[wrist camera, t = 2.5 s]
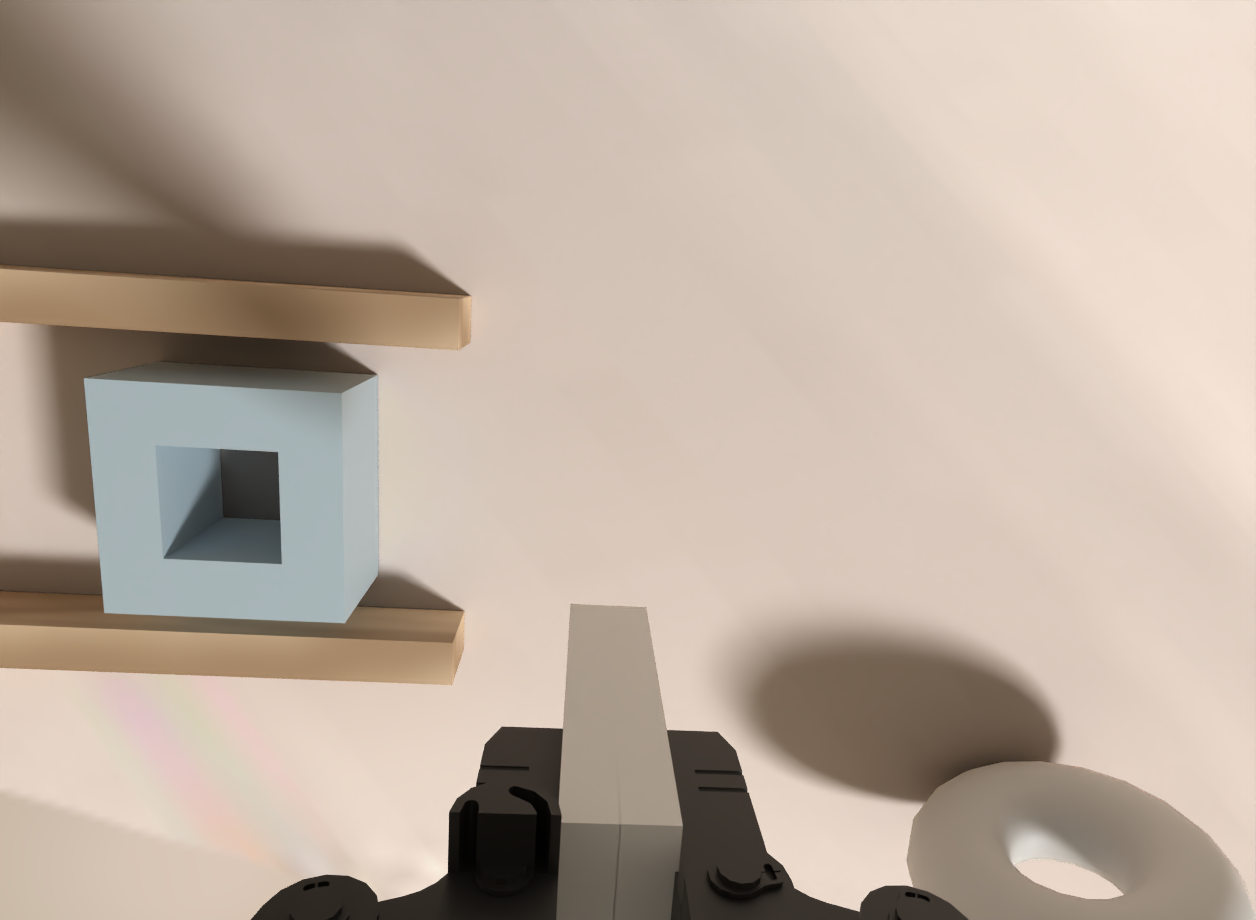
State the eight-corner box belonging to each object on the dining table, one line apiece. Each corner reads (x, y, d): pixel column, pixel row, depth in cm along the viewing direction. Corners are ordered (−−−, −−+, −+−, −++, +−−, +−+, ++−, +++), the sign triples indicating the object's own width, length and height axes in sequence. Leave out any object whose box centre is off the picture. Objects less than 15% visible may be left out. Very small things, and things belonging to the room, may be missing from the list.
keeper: (158, 361, 26) (83, 378, 22) (377, 375, 27) (341, 393, 23) (172, 564, 28) (104, 613, 24) (378, 574, 28) (344, 623, 24)
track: (-319, 243, 25) (-450, 240, 22) (471, 296, 26) (455, 300, 23) (-245, 621, 28) (-351, 666, 25) (463, 650, 29) (448, 695, 26)
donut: (867, 836, 32) (989, 1087, 22) (865, 758, 31) (990, 984, 21) (1118, 806, 32) (1349, 1043, 22) (1122, 728, 31) (1363, 939, 21)
